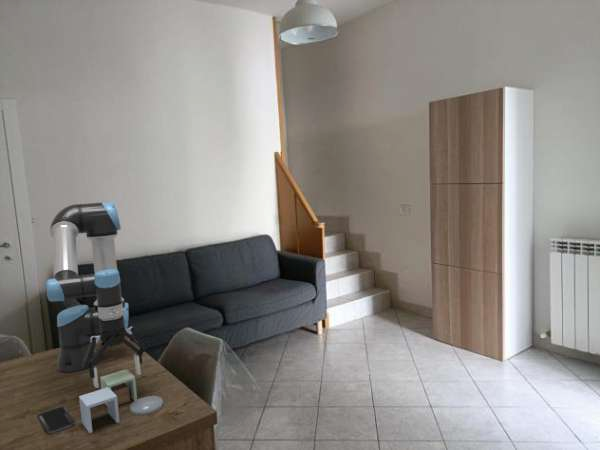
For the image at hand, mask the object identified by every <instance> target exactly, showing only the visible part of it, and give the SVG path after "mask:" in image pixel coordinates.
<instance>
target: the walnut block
mask: <svg viewBox="0 0 600 450" xmlns="http://www.w3.org/2000/svg"><path fill="white" fill-rule="evenodd" d="M111 391H112V392H113V393H114V394H115V395H116V396H117V401H118V406H119V405H122V404H125V403H128V402H130V401H131V397H130V395H129V386H127V385H126V384H125V383H121V384H118V385H115V386H112V387H111Z"/></svg>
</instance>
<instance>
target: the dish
mask: <svg viewBox="0 0 600 450" xmlns="http://www.w3.org/2000/svg"><path fill="white" fill-rule="evenodd" d="M163 406H164V400H163V398H162V397H160V396H157V395H149V396H143V397H140V398H137V400H136V401H134V400H133V402H131V404H130V405H129V409H130V413H131V414H132V415H135V416H136V415H137V416H145V415H151V414H152V413H153V414H154V413H155V412H157V411H159V410H160V409H161V408H162V407H163Z"/></svg>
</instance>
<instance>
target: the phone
mask: <svg viewBox="0 0 600 450" xmlns="http://www.w3.org/2000/svg"><path fill="white" fill-rule="evenodd" d="M37 419H38V420H39V423H40V424H41V426H42V428H43V430H44V432H45V433H46V435H47V436H50V435H54V434H56V433H59V432H62V431H65V430H68V429H70V428H73V427H74V426H75V425H76V422H75V420H74V418H73V417H72V416H71V414H70V412H69V411H68V410H67V408H66V407H65V406H59V407H55V408H53V409H50V410H47V411H44V412H40V413H39V414H37Z"/></svg>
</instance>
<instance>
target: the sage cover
mask: <svg viewBox="0 0 600 450" xmlns="http://www.w3.org/2000/svg"><path fill="white" fill-rule="evenodd" d="M99 379H100V381H99V382H100V390H101V389H104V388H107V387H109V388H110V390H111V387H112V386H115V385H118V384H121V383H125V384H126V385H127V386H129V395H130V399H132V400H133V402H134V401H136V400H138V395H137V384H136V376H135V375H133V374H132V373H131V372H130V371H129V370H128V369H127V368H126V369H123V370H119V371H116V372H112V373H109V374H106V375H103V376H102V375H101V376H100V377H99ZM104 404H105V405H106V406H107V402H106V403H104Z"/></svg>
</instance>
